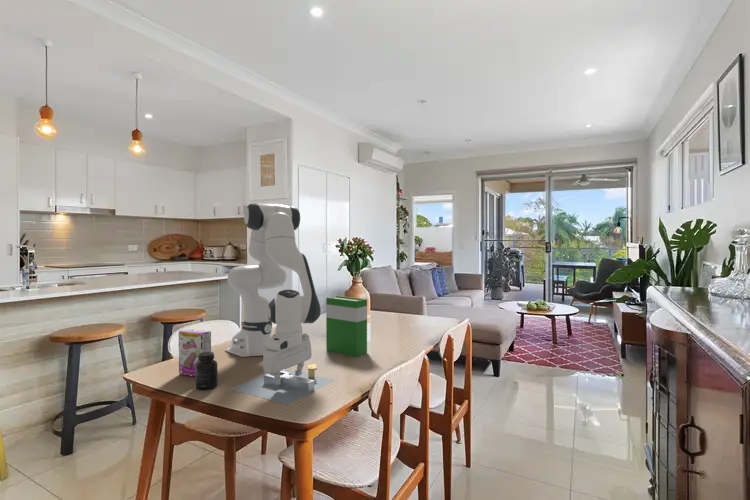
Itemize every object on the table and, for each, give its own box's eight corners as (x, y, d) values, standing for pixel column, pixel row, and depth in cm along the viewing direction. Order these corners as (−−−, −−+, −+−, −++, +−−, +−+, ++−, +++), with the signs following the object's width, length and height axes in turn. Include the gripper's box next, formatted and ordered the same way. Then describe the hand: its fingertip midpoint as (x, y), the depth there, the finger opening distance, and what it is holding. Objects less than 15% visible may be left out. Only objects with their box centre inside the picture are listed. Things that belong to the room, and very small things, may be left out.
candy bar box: (178, 375, 144) (177, 331, 143) (188, 370, 148) (188, 328, 148) (202, 378, 140) (201, 333, 139) (212, 374, 145) (211, 330, 144)
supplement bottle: (200, 385, 133) (199, 350, 133) (220, 385, 134) (220, 350, 133) (192, 393, 126) (191, 356, 126) (213, 392, 127) (213, 356, 127)
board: (230, 391, 128) (230, 388, 128) (281, 370, 149) (281, 368, 149) (287, 407, 116) (287, 404, 116) (334, 382, 136) (334, 379, 136)
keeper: (308, 380, 136) (308, 368, 136) (307, 376, 140) (307, 364, 140) (316, 379, 136) (316, 368, 136) (315, 375, 141) (315, 364, 141)
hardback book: (326, 350, 176) (326, 297, 176) (337, 346, 182) (337, 295, 182) (356, 357, 166) (356, 301, 165) (367, 353, 172) (367, 299, 171)
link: (317, 387, 129) (317, 378, 129) (305, 394, 123) (305, 385, 123) (277, 378, 138) (277, 369, 138) (263, 383, 133) (263, 375, 132)
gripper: (302, 331, 141) (302, 368, 142) (259, 344, 124) (259, 387, 124) (315, 333, 138) (315, 371, 138) (274, 347, 120) (274, 391, 121)
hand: (289, 379), depth 131 cm, fingers open, 8 cm apart
